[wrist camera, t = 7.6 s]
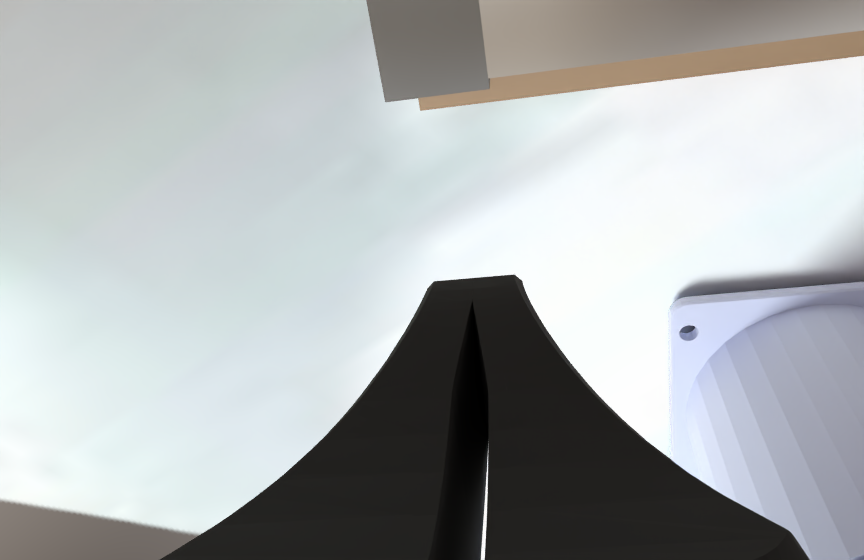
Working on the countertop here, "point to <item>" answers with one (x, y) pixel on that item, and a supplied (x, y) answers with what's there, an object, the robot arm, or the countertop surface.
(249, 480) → the countertop surface
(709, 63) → the pipe board
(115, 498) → the countertop surface
